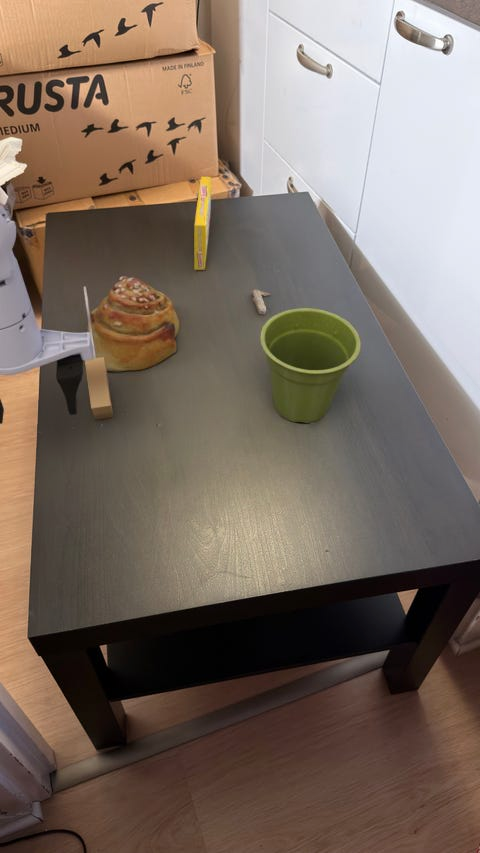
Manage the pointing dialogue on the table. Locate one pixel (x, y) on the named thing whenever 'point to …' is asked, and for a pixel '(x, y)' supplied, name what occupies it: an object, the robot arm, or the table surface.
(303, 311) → the plant pot
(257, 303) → the ginger root
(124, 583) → the table surface
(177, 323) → the pastry
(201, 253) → the candy box
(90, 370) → the cake knife
